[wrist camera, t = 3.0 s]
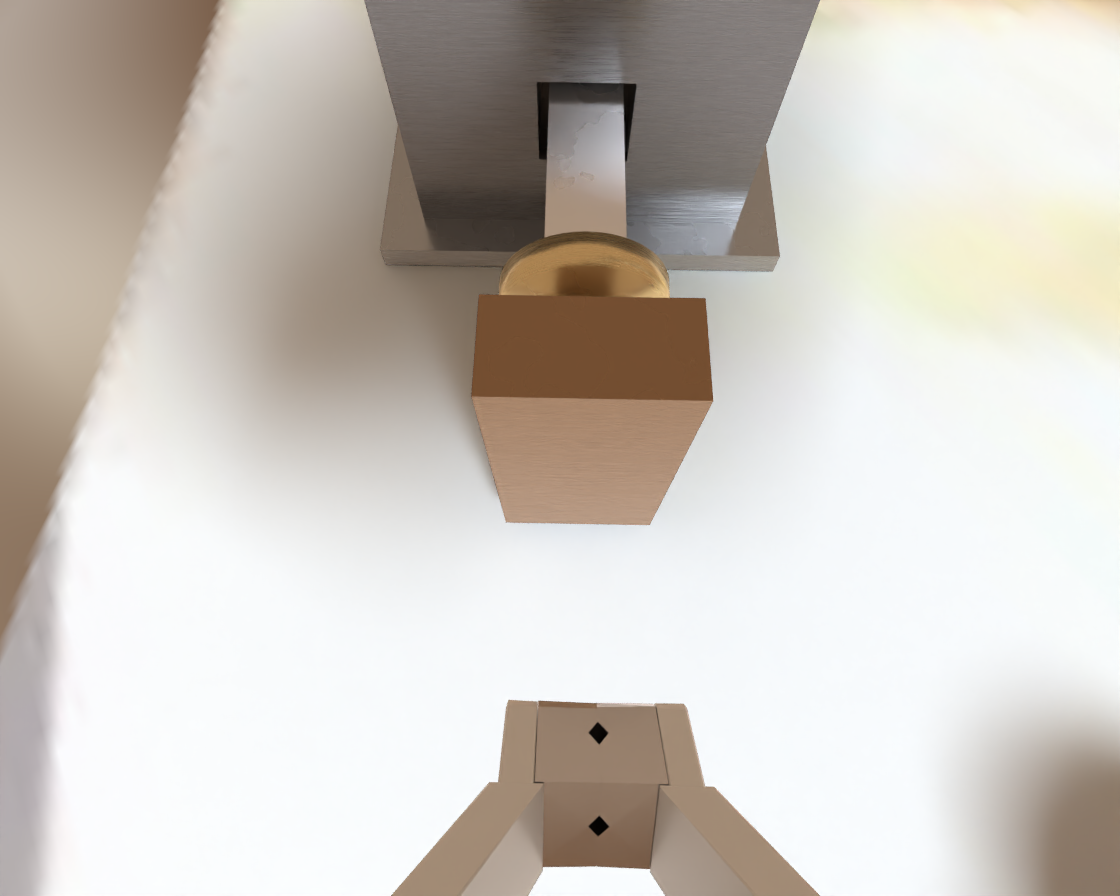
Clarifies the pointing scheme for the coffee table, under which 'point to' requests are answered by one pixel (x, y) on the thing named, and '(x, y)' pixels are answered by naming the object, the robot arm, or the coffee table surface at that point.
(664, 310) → the shaft
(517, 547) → the coffee table surface
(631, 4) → the bearing block
